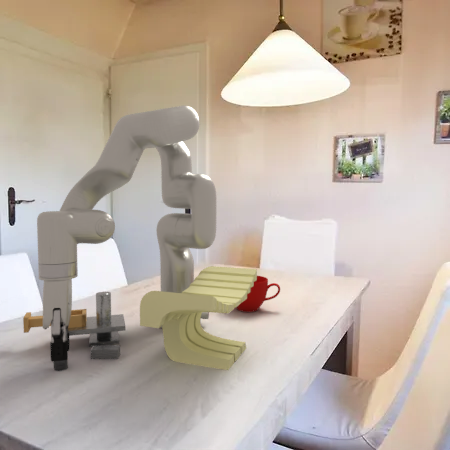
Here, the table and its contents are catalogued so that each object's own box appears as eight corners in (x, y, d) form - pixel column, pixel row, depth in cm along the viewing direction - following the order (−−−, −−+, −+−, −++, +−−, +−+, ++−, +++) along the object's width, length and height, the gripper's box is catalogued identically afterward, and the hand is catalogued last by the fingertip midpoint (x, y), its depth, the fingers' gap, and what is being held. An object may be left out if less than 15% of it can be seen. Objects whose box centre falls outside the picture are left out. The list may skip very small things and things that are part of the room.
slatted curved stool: (200, 329, 109) (200, 265, 108) (256, 336, 104) (256, 269, 103) (140, 375, 81) (139, 289, 80) (212, 388, 76) (213, 296, 75)
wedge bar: (120, 355, 92) (120, 345, 92) (117, 360, 89) (117, 349, 89) (94, 355, 92) (94, 345, 92) (90, 360, 89) (90, 349, 89)
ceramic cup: (278, 317, 121) (279, 284, 120) (224, 313, 124) (224, 282, 124) (281, 305, 134) (281, 276, 133) (231, 302, 137) (231, 274, 136)
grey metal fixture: (123, 331, 107) (122, 287, 106) (125, 344, 98) (125, 296, 97) (63, 337, 103) (62, 291, 102) (59, 351, 93) (58, 301, 92)
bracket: (86, 321, 102) (86, 307, 102) (86, 328, 97) (85, 313, 97) (27, 326, 98) (26, 311, 98) (23, 333, 93) (22, 318, 92)
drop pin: (72, 365, 86) (71, 322, 85) (64, 371, 83) (62, 327, 82) (57, 364, 86) (56, 321, 86) (48, 370, 83) (47, 326, 82)
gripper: (44, 264, 90) (46, 343, 91) (32, 279, 74) (35, 375, 75) (79, 263, 92) (81, 340, 93) (75, 277, 76) (77, 370, 77)
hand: (60, 355), depth 84 cm, fingers open, 4 cm apart
